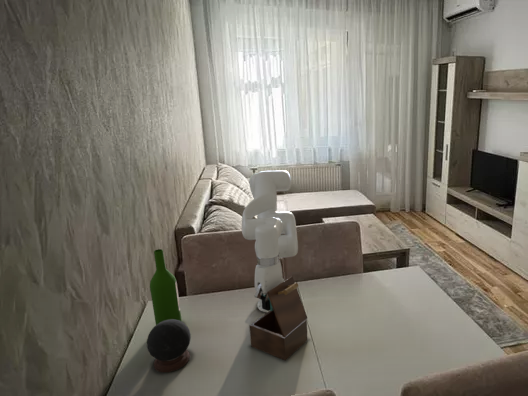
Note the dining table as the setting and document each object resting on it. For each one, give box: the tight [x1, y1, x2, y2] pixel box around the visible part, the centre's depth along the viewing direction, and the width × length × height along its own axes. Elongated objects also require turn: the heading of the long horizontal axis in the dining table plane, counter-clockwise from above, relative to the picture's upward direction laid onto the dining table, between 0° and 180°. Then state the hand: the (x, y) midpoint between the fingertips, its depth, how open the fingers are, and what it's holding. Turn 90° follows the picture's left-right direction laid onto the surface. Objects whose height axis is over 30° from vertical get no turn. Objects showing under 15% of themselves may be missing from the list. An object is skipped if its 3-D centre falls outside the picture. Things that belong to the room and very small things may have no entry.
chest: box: [249, 310, 308, 361], centre depth 139 cm, size 16×13×9 cm
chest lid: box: [267, 275, 308, 337], centre depth 132 cm, size 17×13×5 cm
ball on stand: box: [146, 319, 192, 373], centre depth 129 cm, size 13×13×15 cm
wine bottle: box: [149, 248, 183, 326], centre depth 145 cm, size 9×9×32 cm
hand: (271, 305), depth 137 cm, fingers closed on block, 4 cm apart
